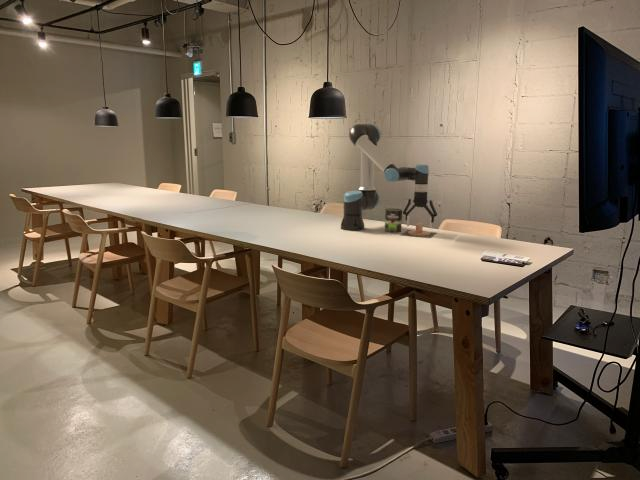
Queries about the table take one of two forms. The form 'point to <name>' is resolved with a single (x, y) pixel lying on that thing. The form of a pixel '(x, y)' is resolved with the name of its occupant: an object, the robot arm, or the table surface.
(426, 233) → the lid
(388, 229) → the coffee can
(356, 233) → the table surface
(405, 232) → the mat
